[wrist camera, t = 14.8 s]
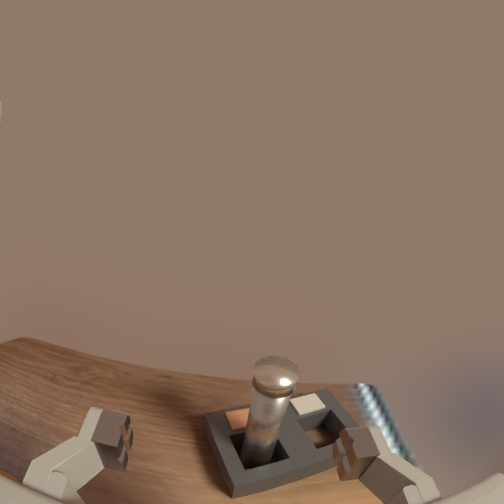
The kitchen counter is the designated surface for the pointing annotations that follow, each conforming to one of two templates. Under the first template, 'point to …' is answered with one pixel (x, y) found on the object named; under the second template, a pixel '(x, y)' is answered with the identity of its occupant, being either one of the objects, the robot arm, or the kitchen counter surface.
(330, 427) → the socket board
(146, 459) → the kitchen counter surface
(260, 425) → the metal plug
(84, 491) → the kitchen counter surface
